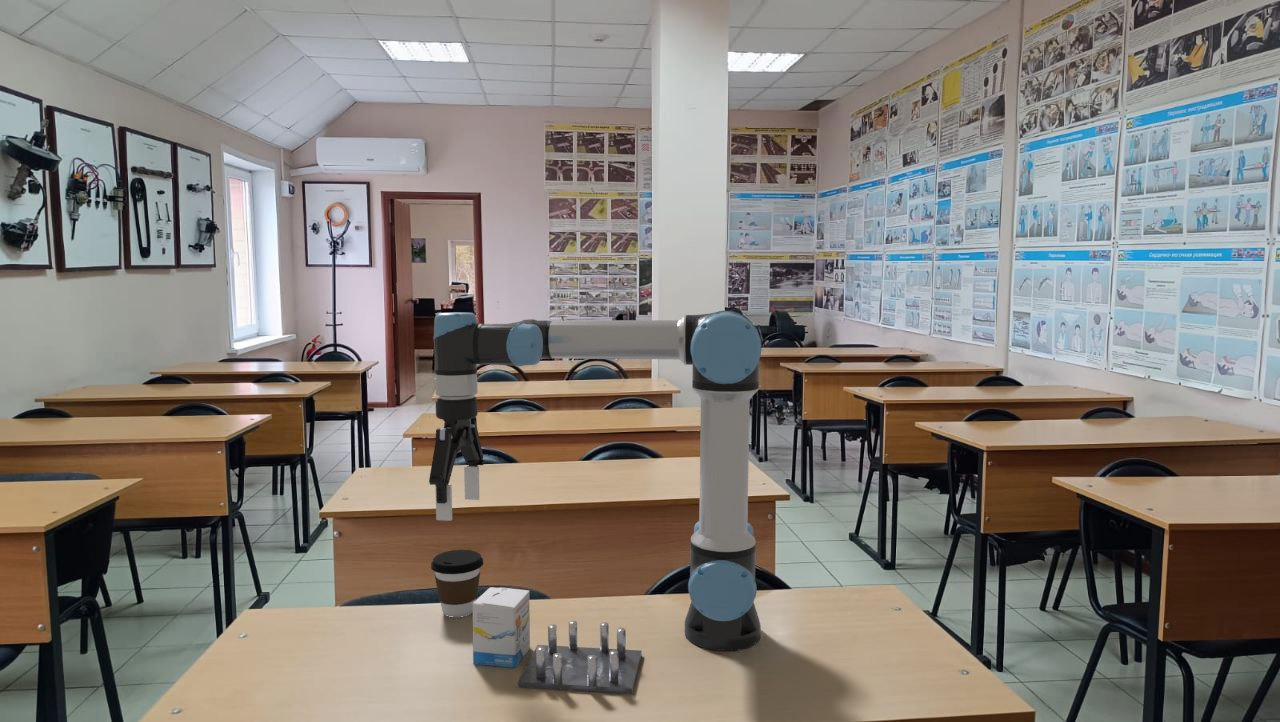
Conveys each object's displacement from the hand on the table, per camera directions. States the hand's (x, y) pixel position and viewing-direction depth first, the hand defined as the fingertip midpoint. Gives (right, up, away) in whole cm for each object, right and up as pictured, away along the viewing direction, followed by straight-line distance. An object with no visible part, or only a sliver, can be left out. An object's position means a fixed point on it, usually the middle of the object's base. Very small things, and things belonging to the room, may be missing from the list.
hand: (458, 509), depth 146 cm
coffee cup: (-5, -26, +21) cm, 34 cm away
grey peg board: (+23, -28, -5) cm, 37 cm away
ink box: (+8, -28, +1) cm, 29 cm away
